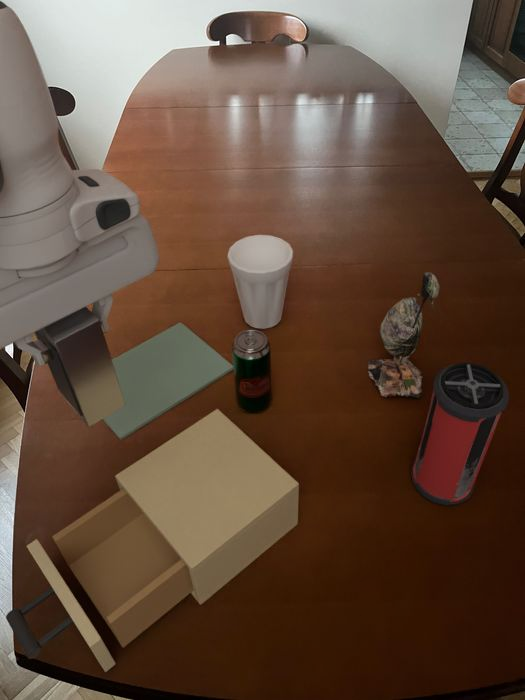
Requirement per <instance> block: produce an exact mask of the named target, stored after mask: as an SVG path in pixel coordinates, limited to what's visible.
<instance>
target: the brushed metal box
mask: <svg viewBox="0 0 525 700" xmlns="http://www.w3.org/2000/svg"><path fill="white" fill-rule="evenodd" d="M91 311H92V310H91V309H89V308H88V306H86V307H84V308H82V309H80V310H78V311H76V312H74V313H72V314H70V315H68V316H66V317H64V318H62V319H60V320H58V321H56V322H54V323H52V324H50V325H48V326H46V327H44V328H42V329H40V330H38V331H36V332H34V335H35V337H36V340H38V339H42V340H43V341H44V342H45V344H46V345H47V346H48V347H49V348H50V351H51V353H52V354H51V355H52V356H53V358H54V360H52V361H50V362H49V363H47V366H48V368H49V371H50V373H51V375H52V378H53V380H54V383H55V385H56V387H57V389H58V391H59V393H60V395H61V397H62V398H63V399H64V400H65V402H67V404H68V405H69V406H70V407H71V409H72V410H73V411H74V412H75V414H77V416H78V417H79V418H80V420H81V421H82V422H83V423H84V424H85V426H86V427H87V428H90V427H92V426H94V425H95V424H97V423H99V422H100V421H103V420H102V419H103V418H105V417H107V416H108V415H110V414H112V413H113V412H115V411H117V410H118V409H120V408H122V407H123V406H125V402H124V399H123V395H122V392H121V389H120V386H119V382H118V379H117V376H116V372H115V369H114V366H113V363H112V359H113V358H112V357H111V353H110V349H109V347H108V344H107V343H108V342H107V340H106V337H105V333H103V330H102V327H101V323H100V320H99V319H98V318H97V317H96V316H95V315H94V314H93V313H92V312H91Z"/></svg>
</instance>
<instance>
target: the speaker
mask: <svg viewBox="0 0 525 700" xmlns="http://www.w3.org/2000/svg"><path fill="white" fill-rule="evenodd" d="M432 387H433V390H432V395H431V398H430V402H429V403H430V404H429V407H428V412H427V415H426V419H425V423H424V427H423V431H422V435H421V439H420V443H419V446H418V450H417V452H416V457H415V459H414V461H413V464H412V467H411V471H410V472H411V474H410V477H411V481H412V483H413V486H414V487H415V489H416V490H417V491H418V493H419V494H421V495H422V496H423V497H424V498H426V499H427V500H429V501H431V502H434V503H436V504H440V505H444V506H445V505H446V506H453V505H458V504H460V503H463V502H465V501H466V500H468V499H469V498H470V497H471V495H472V494H473V492H474V489H475V486H476V482H477V477H478V475H479V472H480V470H481V467H482V465H483V462H484V459H485V456H486V454H487V452H488V449H489V446H490V443H491V441H492V439H493V437H494V434H495V431H496V428H497V426H498V423H499V420H500V418H501V415H502V413H504V412H505V410H506V408H507V406H508V403H509V400H510V398H509V397H510V393H509V389H508V387H507V384H506V383H505V382H504V380H503V379H502V378H501V377H500V376H499V375H498V374H496V373H495V372H494V371H492V370H491V369H489V368H488V367H486V366H483V365H480V364H477V363H473V362H461V363H453V364H450V365H446V366H445V367H443V368H441V369H440V370H439V371H438V372H437V373H436V375H435V377H434V380H433V383H432Z"/></svg>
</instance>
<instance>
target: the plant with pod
mask: <svg viewBox="0 0 525 700" xmlns="http://www.w3.org/2000/svg"><path fill="white" fill-rule="evenodd" d="M420 289H421V291H420V293H417V296H421V298H422V299H421V305H420V304H419V301H418V299H417V298H416V297H413V296H409V297H405V298H402V299H401V300H400V301H397V303H395V304H394V305H393V306H392V307H391V308H390V309H389V310H388V312H386V315H385V316H384V318H383V321H382V322H381V324H380V331H379V332H380V338H381V340H382V343H383V348H384V349H385V350H386V351H387V352H388V354H389V355H391V356H393V358H388V359H386V358H384V359H375V358H374V359H372V360H369V361H368V362H367V368H368V371H367V373H368V376H369V378H370V379H371V380H372V381H373V382H375V383H374V385H375V386H377V387H378V390H379V392H380V396H382V397H385V398H388V397H389V398H391V397H397V395H398V396H399V397H400V396H402V397H403V396H405V398H408V397H413V398H417V399H419V398H420V397H421V396H423V390H422V380H423V379H422V378H423V376H422V372H421V371H420V369H419V367H417V366H414V364H413V362H412V361H410V359H409V358H410V356H412V355H413V354H414V353H416V350H417V349H418V344H419V341H420V339H421V335H422V331H423V325H424V322H423V312H422V310H423V308H424V306H425V304H426V302H427V300H429V302H430V307H431V309H432V310H434V309H435V306H434V301H435V299H437V297H438V296H439V292H440V283H439V281H438V279H437V277H436V275H434V273H432V272H427V271H425V272H423V274H422V280H421V287H420Z"/></svg>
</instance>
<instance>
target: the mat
mask: <svg viewBox="0 0 525 700" xmlns="http://www.w3.org/2000/svg"><path fill="white" fill-rule="evenodd" d="M111 359H112V363H113V366H114V369H115V372H116V376H117V379H118V382H119V386H120V389H121V392H122V395H123V399H124V402H125V406H123V407H122V408H120V409H118V410H117V411H115V412H113V413H112V414H110V415H108V416H107V417H105V418H103V419H102V420H101V421H103V422H104V423H105V424H106V425H107V427H108V428H109V429H110V430H111V432H113V433H114V435H115V436H116V437H117V438H118V439H119V440H120V441H122V440H123V439H126V438H127V437H129V436H130V435H132V434H133V433H135V432H136V431H138V430H139V429H141V428H143V427H144V426H146V425H148V424H149V423H150V422H152V421H154V420H155V419H157V418H159V417H160V416H162V415H163V414H165V413H167V412H168V411H170V410H171V409H173V408H174V407H176V406H178V405H179V404H181V403H182V402H184V401H186V400H188V399H189V398H190V397H192V396H194V395H195V394H197V393H199V392H200V391H202V390H203V389H205V388H206V387H208V386H210V385H211V384H213V383H215V382H216V381H218V380H219V379H221V378H222V377H224V376H226V375H227V374H229V373H231V372H232V371H234V367H233V364H232V363H230V362H229V361H228V360H227V359H225V358H224V356H222V355H221V354H220V353H218V352H217V351H216V350H215V349H214V348H212V347H211V346H210V345H209V344H208V343H207V342H205V341H204V340H203V339H202V338H201V337H199V336H198V335H197V334H195V333H194V332H193V331H192V330H191V329H189V327H187V326H186V325H185V324H184V323H182V322H180V321H179V322H178V323H175V324H174V325H172V326H171V327H168V328H167V329H165V330H163V331H162V332H160V333H158V334H156V335H154V336H152V337H150V338H149V339H147V340H145V341H143V342H141V343H140V344H138V345H136V346H134V347H132V348H130V349H129V350H127V351H125V352H123V353H121V354H119V355H117V356H115V357H114V358H111Z"/></svg>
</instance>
